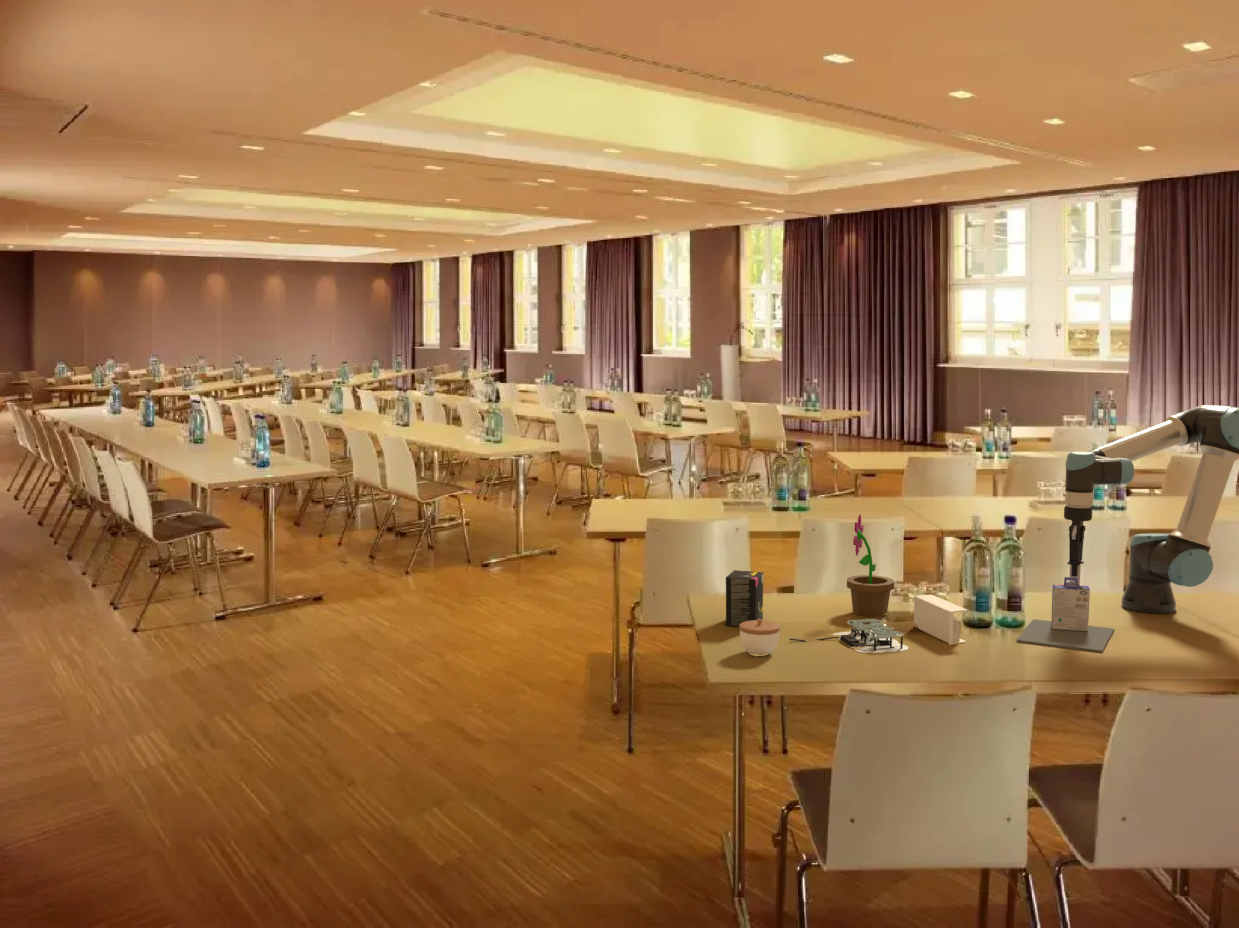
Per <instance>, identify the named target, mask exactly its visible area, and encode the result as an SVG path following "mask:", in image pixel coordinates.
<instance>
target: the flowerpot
mask: <svg viewBox="0 0 1239 928" xmlns="http://www.w3.org/2000/svg"><path fill="white" fill-rule="evenodd" d="M854 531H855V533H856V535H854V537H853V542H852V543H853V544H852V545H853V546H855V551H854V552H855V556H857V557H858V556H859V552H860V548H861V549H862V548H863V543H864V545H865V547H866V549H867V554H865V555H864V556H863V557H862V558H861V559H860V560H859V562H858V563H859V564H860V565H862V566H865V567H866V566H869V567H868V575H867V574H866V575H865V574H860V575H853V576H850V577H847V578H846V587H847V588H848V589H849V590H850V594H851V595H850V597H851V605H852V614H853V615H855V616H857V617H862V618H870V619H872V618H873V619H876V618H883V617H884V616H883V615H884V614H885V613H886V612H887V613H888V609H889V601H890V595H891V591H893V590H895V580H894V579H893V578H890V577H888V576H881V575H873V572H875V571H876V567H877V566H876V563H873V557H872V552H871V547H870V544H869V543H868V541H867V538H866V537H865V535H864V534H863V533H864V525H863V524H862V515H861V514H859V515H858V517H857V521H855V522H854ZM882 616H883V617H882Z"/></svg>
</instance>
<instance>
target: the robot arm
mask: <svg viewBox="0 0 1239 928" xmlns="http://www.w3.org/2000/svg"><path fill="white" fill-rule="evenodd" d="M1189 444H1199V445H1198V447H1199V448H1200V450H1201V453H1202V454H1201V457H1200V459H1199V460H1200V461H1199V463H1198V466H1197V468H1196V472H1195V475H1194V477H1193V480H1192V483H1191V487H1190V490H1189V492H1188V495H1187V498H1186V501H1185V503H1184V506H1183V509H1182V512H1181V515H1180V519H1179V521H1178V524H1177V527H1176V529H1175V530H1174V531H1172V532H1169V533H1138V534H1137V533H1136V534H1134V535H1132V536H1131V540H1130V546H1129V548H1130V549H1129V550H1130V551H1129V570H1128V571H1129V572H1128V573H1129V576H1128V583H1127V585H1126V588H1125V590H1124V592H1123V594H1122V597H1121V607H1122V608H1124V609H1127V610H1129V611H1135V612H1140V613H1146V614H1169V613H1174V612H1175V611H1176V607H1177V602H1176V599H1175V596H1174V592H1173V588H1172V585H1171V584H1172V583H1173V584H1174V585H1177V586H1180V587H1181V586H1182V587H1188V588H1193V587H1197V586H1199V585H1201V584H1203V583H1204V582H1207V580H1208V579H1209V578H1210V576H1211V574H1212V572H1213V568H1214V561H1213V559H1212V556H1211V554H1210V551H1211V547H1212V545H1211V544H1210V542H1209V540H1208V539H1209V535H1210V532H1211V530H1212V526H1213V524H1214V521H1215V518H1216V515H1217V513H1218V510H1219V507H1220V504H1221V500H1222V498H1223V495H1224V492H1225V491H1226V490H1225V489H1226V487H1227V484H1228V481H1229V478H1230V474H1231V472H1232V469H1233V466H1234V464H1235V462H1237V460H1239V407H1238V406H1228V405H1227V406H1226V405H1215V404H1203V405H1199V406H1198V405H1197V406H1195V407H1191V408H1189V409H1187V410H1184V411H1181V412H1178V413H1176V414H1172V415H1169V416H1168V417H1167V418H1166V419H1165V421H1164V422H1162V423H1160V424H1159V423H1158V424H1156V425H1154V426H1151V427H1148V428H1146V429H1143V430H1140V431H1139V432H1136V433H1133V434H1131V435H1128V436H1125V437H1123V438H1120V439H1118V440H1115V441H1112V442H1110V443H1107V444H1105V445H1102V446H1099V447H1097V448H1093V449H1092V450H1087V451H1070V452H1069V453H1068V454H1067V455H1066V461H1065V485H1064V487H1065V489H1064V492H1063V493H1062V497H1064V505H1065V506H1064V507H1063V518H1064V519H1065V520H1067V521H1071V524H1070V525H1068V526H1069V527H1068V537H1069V541H1068V542H1069V547H1068V549H1069V551H1068V552H1069V555H1068V559H1069V560H1068V561H1067V563H1066V564H1067V565H1069V577H1070V578H1078V586H1081V569H1082V565H1084V564H1085V562H1084V561H1083V554H1084V553H1083V551H1084V549H1083V548H1084V540H1085V532H1086V525H1084V522H1089V521H1091V520H1092V519H1093V508H1092V506H1093V504H1094V488H1095V486H1099V485H1103V486H1104V485H1110V486H1111V485H1118V486H1120V485H1124V484H1125V485H1126V484H1130V483H1131V482H1132V481H1133V479H1134V478H1135V465H1134V464H1133V462H1135V461H1137V460H1140V459H1143V458H1145V457H1148V456H1151V455H1153V454H1155V453H1158V452H1162V451H1164V450H1166V449H1169V448H1172V447H1173V446H1178V447H1184V446H1186V445H1189ZM1068 581H1069V582H1070V583H1075V582H1076V581H1074V580H1068Z"/></svg>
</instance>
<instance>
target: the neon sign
mask: <svg viewBox="0 0 1239 928" xmlns="http://www.w3.org/2000/svg"><path fill="white" fill-rule="evenodd" d="M846 622H847V623H846V624H848V625H849V626H850V631H840V632H834V633H833V634H832V636H830V637H823V638H819V639H818V638H817V639H816V640H819V641H824V640H829V639H837V638H839V639H838V640H839V641H840V642H841V641H843V642H844V643H846V644H847V645H848V646H847V645H846V644H845V645H846V646H847V647H849V648H850V647H861V649H853V650H854V651H855V652H857V653H862V654H879V653H881V654H882V653H883V654H884V653H891V652H894V653H896V652H905V651H907V650H909V646H908V645H907V644H906V645H905V644H903V643H904V639H903V638H904V635H905V634H904V633H903V632H902V631H897V630H895V628H894V627H893V626H887V624H886V623H883V622H882V620H879V619H876V618H873V619H872V618H867V619H866V618H865V619H854V620H853V619H851V620H848V621H846ZM865 623H867V624H865ZM833 635H841V637H833ZM895 638H900V641H898V640H896V639H895ZM789 640H790V641H795V642H796V641H797V642H798V641H799V642H806V641H805V640H806V639H798V638H789ZM859 641H860V642H861V643H860V642H859ZM843 642H842V643H843ZM844 643H843V644H844ZM862 647H863V648H862ZM864 647H865V648H864ZM866 647H867V648H866Z"/></svg>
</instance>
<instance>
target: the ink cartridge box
mask: <svg viewBox="0 0 1239 928" xmlns="http://www.w3.org/2000/svg"><path fill="white" fill-rule="evenodd" d="M1069 580H1074V581H1076V582H1075V583H1070V582H1068V581H1069ZM1051 593H1052V595H1051V596H1052V597H1051V598H1052V600H1051V621H1052V623H1051V628H1052V629H1062V630H1076V631H1088V626H1089V615H1090V596H1091V590H1090V587H1089V585H1080V586H1078V578H1070V576H1068V577H1067V576H1064V579H1063V584H1052V592H1051Z"/></svg>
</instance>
